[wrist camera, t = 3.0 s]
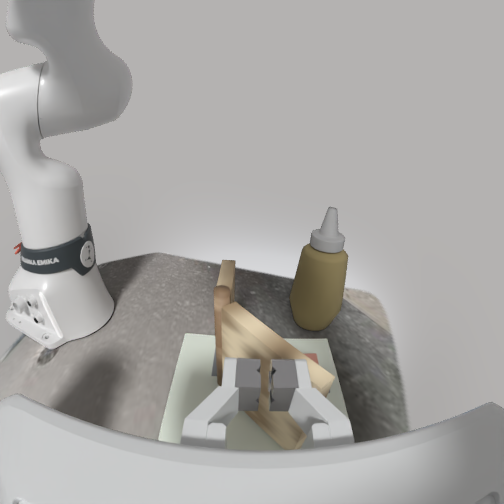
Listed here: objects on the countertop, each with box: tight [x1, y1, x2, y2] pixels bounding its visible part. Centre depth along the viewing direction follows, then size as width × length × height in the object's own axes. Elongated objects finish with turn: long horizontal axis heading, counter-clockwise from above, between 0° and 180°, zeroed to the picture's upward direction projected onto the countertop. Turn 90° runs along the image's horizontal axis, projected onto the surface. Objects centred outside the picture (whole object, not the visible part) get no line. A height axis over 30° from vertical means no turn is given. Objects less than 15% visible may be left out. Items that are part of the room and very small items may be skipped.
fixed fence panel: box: [217, 260, 235, 304], centre depth 31 cm, size 2×7×12 cm, turn 0°
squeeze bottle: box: [289, 207, 348, 331], centre depth 38 cm, size 8×8×18 cm
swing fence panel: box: [214, 285, 335, 450], centre depth 23 cm, size 13×2×13 cm, turn 40°
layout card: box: [158, 333, 349, 450], centre depth 28 cm, size 20×20×3 cm
